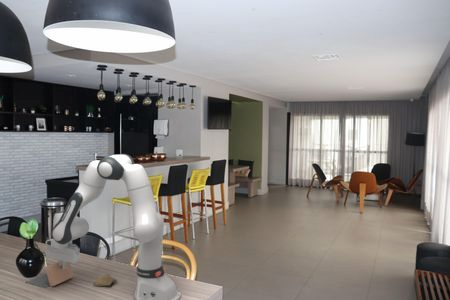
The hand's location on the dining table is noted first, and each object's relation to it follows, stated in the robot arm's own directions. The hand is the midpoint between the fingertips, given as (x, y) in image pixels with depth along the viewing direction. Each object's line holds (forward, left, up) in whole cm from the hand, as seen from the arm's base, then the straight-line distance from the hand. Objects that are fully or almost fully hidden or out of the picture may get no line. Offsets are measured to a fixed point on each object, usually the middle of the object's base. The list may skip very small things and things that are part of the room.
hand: (62, 268), depth 184 cm
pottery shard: (-16, -9, -7) cm, 19 cm away
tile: (+1, 0, -7) cm, 7 cm away
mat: (+10, 0, -7) cm, 13 cm away
